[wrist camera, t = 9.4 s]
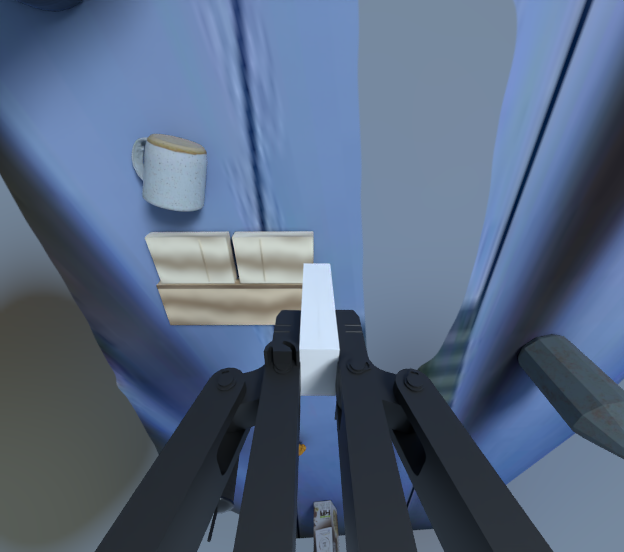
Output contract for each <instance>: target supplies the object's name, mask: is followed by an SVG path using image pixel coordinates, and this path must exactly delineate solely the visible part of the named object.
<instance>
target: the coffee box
mask: <svg viewBox="0 0 624 552" xmlns="http://www.w3.org/2000/svg"><path fill="white" fill-rule="evenodd" d="M314 552H339V537H338V522H337V510H336V508H335V507H334V505H333V503H332V502H331V500H329V501H321V502H314Z"/></svg>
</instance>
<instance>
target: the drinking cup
mask: <svg viewBox="0 0 624 552" xmlns="http://www.w3.org/2000/svg"><path fill="white" fill-rule="evenodd" d="M238 461H239V456H238V458H237V461H236V463H235V465H234V468H233V470H232V472H231V474H230V477H229V479H228V481H227V484H226V486H225V488H224V490H223V493H222V495H221V497H220V500H219V502H218V504H217V507H216V509H215V511H214V516H213V520H212V524H211V528H210V532H209V536H208V540H207V541H208V542H210V540H211V537H212V532H213V528H214V524H215V520H216V516H217V514H219V513H224V512H227V511H230V510H232V509H233V507H234V502H233V500H234V493H235V485H236V477H237V469H238Z"/></svg>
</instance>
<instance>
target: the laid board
mask: <svg viewBox="0 0 624 552" xmlns="http://www.w3.org/2000/svg"><path fill="white" fill-rule="evenodd" d="M156 286H157V289H158V290H159V293H160V296H161V299H162V302H163V305H164V308H165V310H166V313H167V316H168V319H169V322H170V325H275V322H276V317H277V315H278V314H279V313H280V312H281V310H301V306H302V286H303V283H240V279H236V281H235V283H175V284H162V282H161V281H160V282H159V283H158V284H157V285H156Z"/></svg>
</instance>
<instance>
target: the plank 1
mask: <svg viewBox="0 0 624 552" xmlns="http://www.w3.org/2000/svg"><path fill="white" fill-rule="evenodd" d="M145 240H146V242H147V245H148V248H149V250H150V253H151V256H152V258H153V261H154V264H155V266H156V269H157V272H158V274H159V277H160V280H161V282H162V284H175V283H235V281H236V279H237V273H236V267H235V262H234V257H233V251H232V246H231V241H230V235H229V232H150V233H149V234H148V235H147V236H146V237H145Z"/></svg>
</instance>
